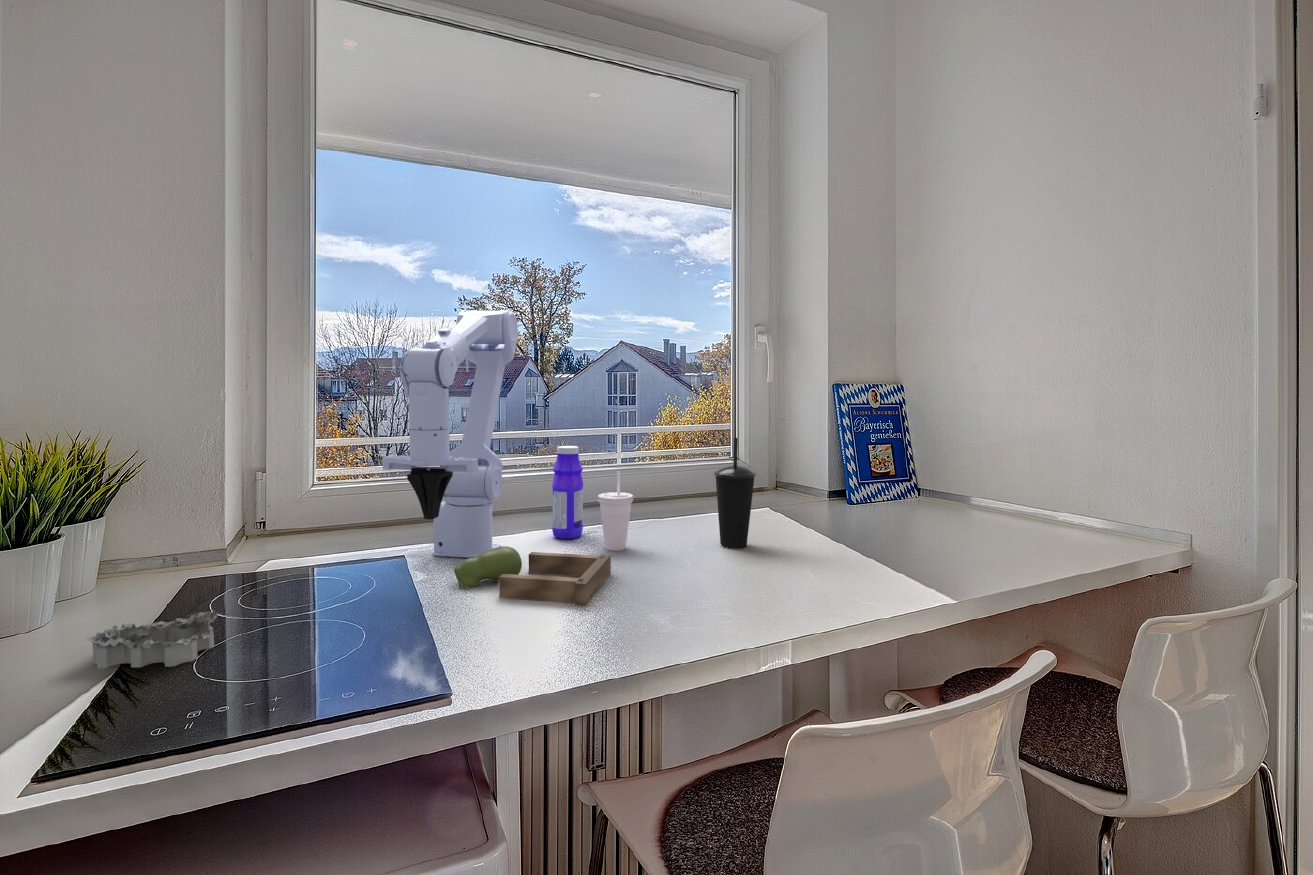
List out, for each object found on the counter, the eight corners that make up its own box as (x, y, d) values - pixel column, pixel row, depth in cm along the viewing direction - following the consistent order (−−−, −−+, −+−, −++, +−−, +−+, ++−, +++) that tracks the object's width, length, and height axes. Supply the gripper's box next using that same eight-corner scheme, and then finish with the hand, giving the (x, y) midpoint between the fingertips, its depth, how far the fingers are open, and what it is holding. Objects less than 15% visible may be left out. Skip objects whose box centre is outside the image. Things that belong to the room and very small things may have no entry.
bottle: (557, 531, 136) (557, 444, 135) (585, 531, 136) (585, 444, 134) (548, 539, 129) (548, 448, 127) (578, 540, 129) (578, 449, 127)
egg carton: (224, 643, 80) (223, 609, 80) (182, 671, 73) (180, 634, 72) (131, 643, 80) (129, 609, 79) (79, 671, 72) (76, 633, 72)
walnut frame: (497, 599, 95) (496, 578, 95) (533, 568, 110) (533, 550, 110) (585, 605, 93) (585, 583, 93) (610, 573, 108) (610, 554, 108)
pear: (521, 547, 102) (453, 565, 98) (527, 581, 103) (460, 599, 99) (514, 538, 107) (449, 555, 103) (520, 570, 108) (456, 588, 104)
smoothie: (628, 553, 120) (628, 474, 119) (593, 551, 121) (593, 473, 120) (636, 544, 126) (637, 469, 125) (603, 542, 128) (603, 468, 126)
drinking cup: (707, 548, 124) (709, 438, 122) (719, 538, 131) (721, 435, 129) (748, 552, 121) (751, 440, 119) (758, 542, 128) (761, 437, 126)
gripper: (369, 429, 100) (372, 521, 101) (463, 432, 98) (464, 525, 99) (395, 426, 107) (397, 511, 108) (483, 428, 105) (484, 515, 106)
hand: (431, 517), depth 104 cm, fingers closed
